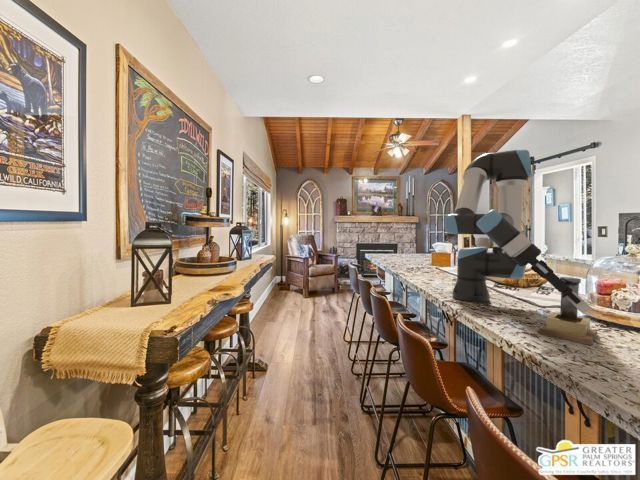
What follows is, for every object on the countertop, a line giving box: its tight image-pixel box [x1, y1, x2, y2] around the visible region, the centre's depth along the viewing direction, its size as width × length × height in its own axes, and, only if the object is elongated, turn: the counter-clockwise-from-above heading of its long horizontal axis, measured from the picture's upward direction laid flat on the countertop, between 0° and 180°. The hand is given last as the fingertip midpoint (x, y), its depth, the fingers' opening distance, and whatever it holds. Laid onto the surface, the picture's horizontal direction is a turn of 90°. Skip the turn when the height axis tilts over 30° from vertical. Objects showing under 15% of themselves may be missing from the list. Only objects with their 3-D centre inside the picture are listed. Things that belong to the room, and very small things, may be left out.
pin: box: [559, 276, 582, 320], centre depth 93 cm, size 5×5×12 cm
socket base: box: [538, 322, 598, 346], centre depth 94 cm, size 12×12×2 cm
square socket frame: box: [546, 311, 591, 337], centre depth 94 cm, size 9×9×4 cm
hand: (585, 309), depth 91 cm, fingers closed on pin, 4 cm apart
